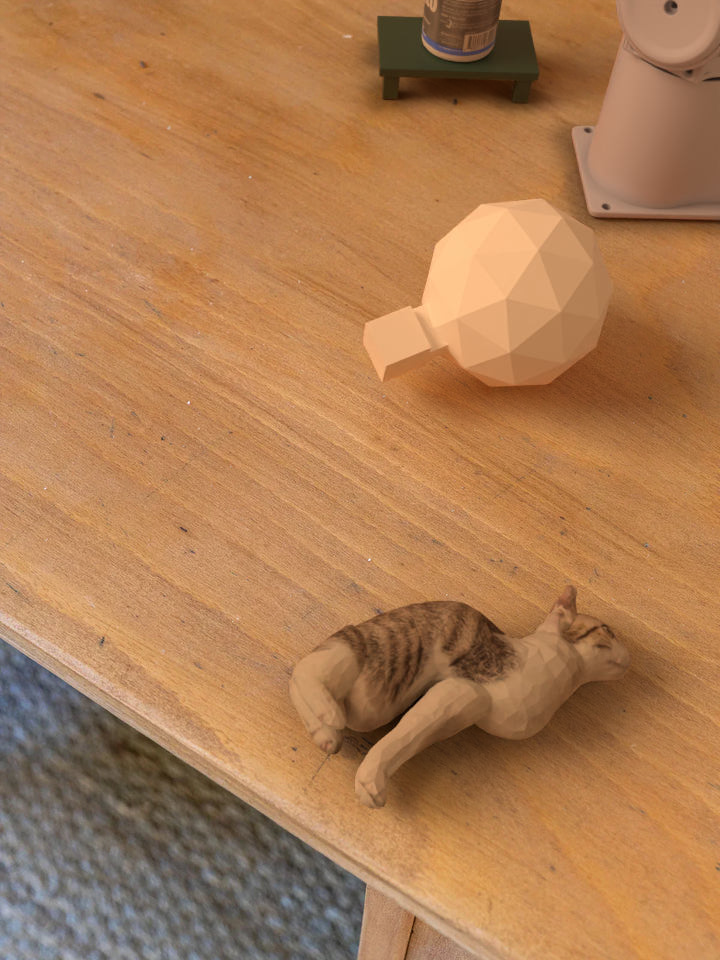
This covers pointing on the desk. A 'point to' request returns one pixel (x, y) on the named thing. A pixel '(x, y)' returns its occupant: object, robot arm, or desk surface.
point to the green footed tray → (412, 59)
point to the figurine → (446, 679)
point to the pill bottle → (460, 28)
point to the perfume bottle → (502, 299)
